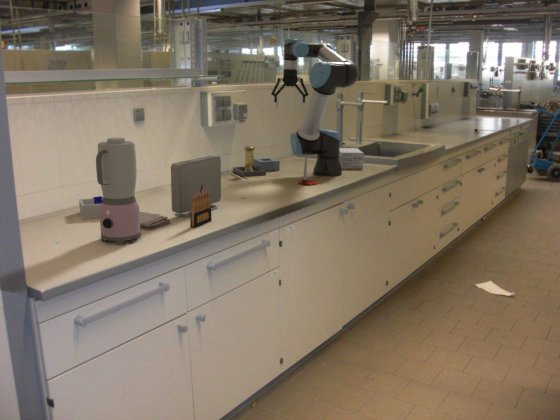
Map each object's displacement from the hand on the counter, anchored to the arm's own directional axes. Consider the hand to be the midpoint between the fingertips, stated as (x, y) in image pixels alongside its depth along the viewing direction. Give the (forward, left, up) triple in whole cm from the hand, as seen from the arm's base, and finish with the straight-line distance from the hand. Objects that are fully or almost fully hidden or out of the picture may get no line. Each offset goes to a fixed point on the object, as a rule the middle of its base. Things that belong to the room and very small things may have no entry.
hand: (289, 108), depth 304 cm
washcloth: (-87, +100, -33) cm, 136 cm away
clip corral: (-69, +108, -32) cm, 133 cm away
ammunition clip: (-95, +80, -33) cm, 129 cm away
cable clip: (-69, +108, -33) cm, 133 cm away
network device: (-77, +76, -33) cm, 113 cm away
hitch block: (-6, +16, -32) cm, 37 cm away
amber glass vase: (-14, +29, -32) cm, 46 cm away
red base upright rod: (-44, +10, -33) cm, 56 cm away
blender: (-104, +110, -33) cm, 155 cm away
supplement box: (-6, -36, -33) cm, 49 cm away
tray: (-14, +29, -32) cm, 46 cm away
